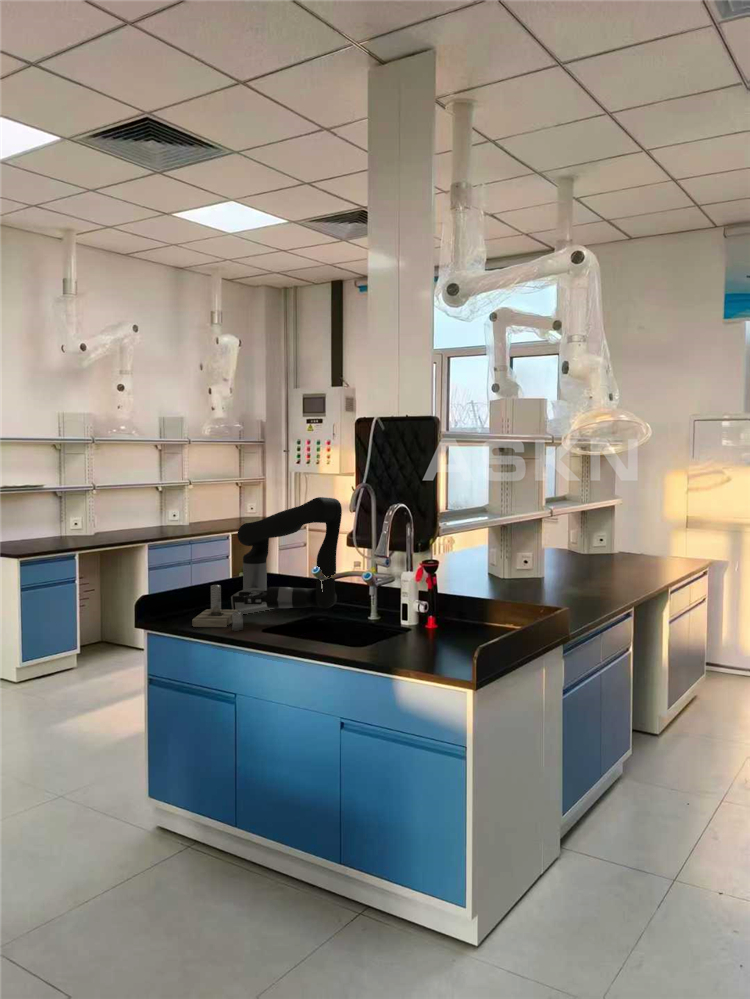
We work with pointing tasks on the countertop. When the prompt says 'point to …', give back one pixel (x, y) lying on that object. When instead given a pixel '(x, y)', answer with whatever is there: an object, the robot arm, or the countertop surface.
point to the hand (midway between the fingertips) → (236, 597)
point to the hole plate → (213, 619)
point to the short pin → (237, 621)
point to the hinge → (249, 607)
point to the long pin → (215, 600)
